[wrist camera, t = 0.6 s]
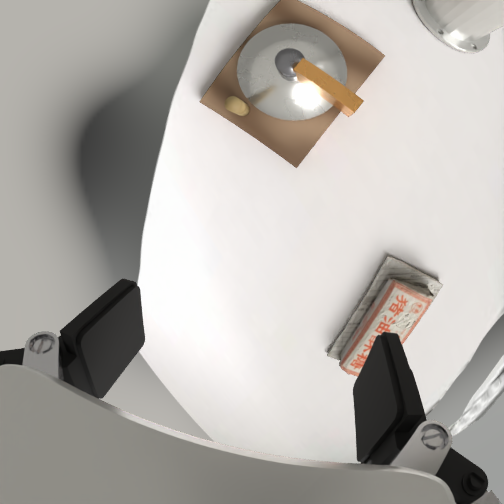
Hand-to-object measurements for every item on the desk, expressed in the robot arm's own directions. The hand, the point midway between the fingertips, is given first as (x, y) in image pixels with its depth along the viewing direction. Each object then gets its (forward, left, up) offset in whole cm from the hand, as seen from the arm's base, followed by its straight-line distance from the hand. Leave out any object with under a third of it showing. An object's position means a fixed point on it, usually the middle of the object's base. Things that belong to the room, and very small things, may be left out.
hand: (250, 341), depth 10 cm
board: (-13, -9, -27) cm, 31 cm away
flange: (-13, -8, -24) cm, 29 cm away
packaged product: (+5, +21, -27) cm, 35 cm away
